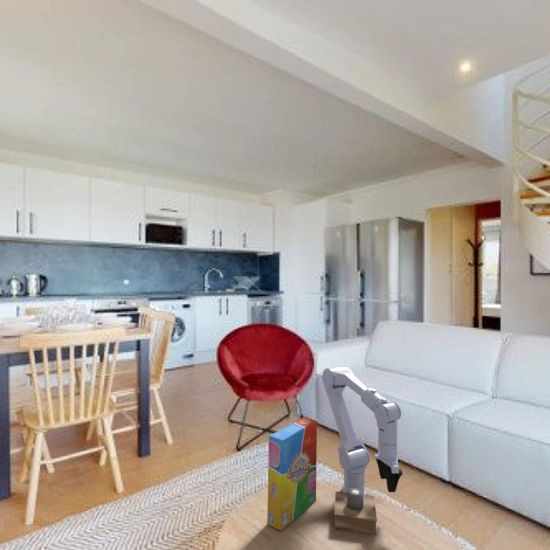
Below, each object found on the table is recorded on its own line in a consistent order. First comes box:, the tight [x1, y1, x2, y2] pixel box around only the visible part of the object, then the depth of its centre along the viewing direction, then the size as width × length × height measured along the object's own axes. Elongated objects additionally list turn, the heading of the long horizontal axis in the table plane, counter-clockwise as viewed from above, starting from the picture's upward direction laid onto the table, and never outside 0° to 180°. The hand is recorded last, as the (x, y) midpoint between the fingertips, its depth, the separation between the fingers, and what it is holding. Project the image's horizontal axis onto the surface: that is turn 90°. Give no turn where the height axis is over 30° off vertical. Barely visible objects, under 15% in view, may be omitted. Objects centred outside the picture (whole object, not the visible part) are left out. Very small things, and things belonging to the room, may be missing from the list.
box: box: [334, 516, 377, 535], centre depth 117 cm, size 12×12×4 cm
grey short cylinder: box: [347, 488, 363, 510], centre depth 117 cm, size 5×5×4 cm
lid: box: [333, 490, 378, 523], centre depth 117 cm, size 12×12×1 cm
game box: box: [266, 417, 318, 531], centre depth 121 cm, size 21×6×27 cm, turn 143°
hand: (387, 484), depth 118 cm, fingers open, 7 cm apart
